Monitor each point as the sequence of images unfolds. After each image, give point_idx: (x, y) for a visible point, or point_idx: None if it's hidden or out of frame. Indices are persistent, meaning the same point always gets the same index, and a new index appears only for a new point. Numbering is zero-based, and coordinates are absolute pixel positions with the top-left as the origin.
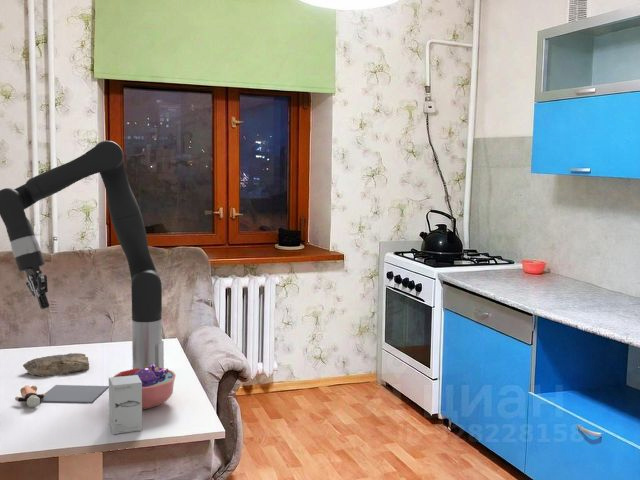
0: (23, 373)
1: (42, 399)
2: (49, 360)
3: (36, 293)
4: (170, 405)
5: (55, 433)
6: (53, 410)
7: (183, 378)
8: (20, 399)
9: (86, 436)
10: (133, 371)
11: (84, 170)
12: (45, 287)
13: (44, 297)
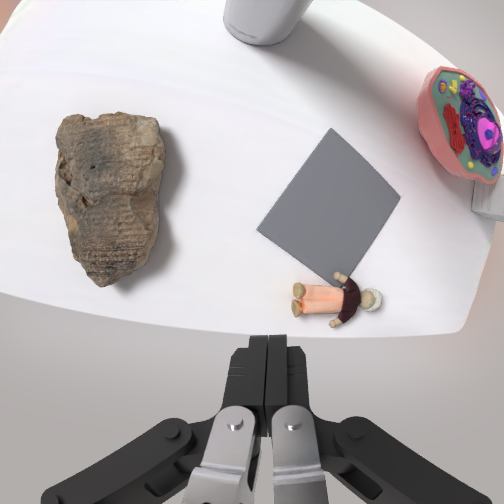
0: None
1: None
2: (119, 224)
3: (258, 466)
4: None
5: (457, 278)
6: (394, 266)
7: (341, 3)
8: (347, 319)
9: (478, 247)
10: (452, 121)
11: None
12: (388, 456)
13: (305, 403)
